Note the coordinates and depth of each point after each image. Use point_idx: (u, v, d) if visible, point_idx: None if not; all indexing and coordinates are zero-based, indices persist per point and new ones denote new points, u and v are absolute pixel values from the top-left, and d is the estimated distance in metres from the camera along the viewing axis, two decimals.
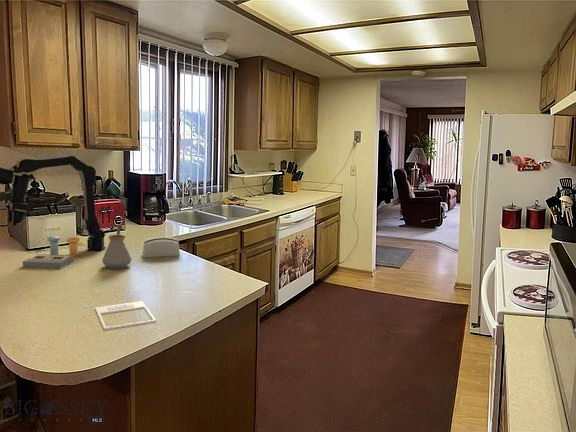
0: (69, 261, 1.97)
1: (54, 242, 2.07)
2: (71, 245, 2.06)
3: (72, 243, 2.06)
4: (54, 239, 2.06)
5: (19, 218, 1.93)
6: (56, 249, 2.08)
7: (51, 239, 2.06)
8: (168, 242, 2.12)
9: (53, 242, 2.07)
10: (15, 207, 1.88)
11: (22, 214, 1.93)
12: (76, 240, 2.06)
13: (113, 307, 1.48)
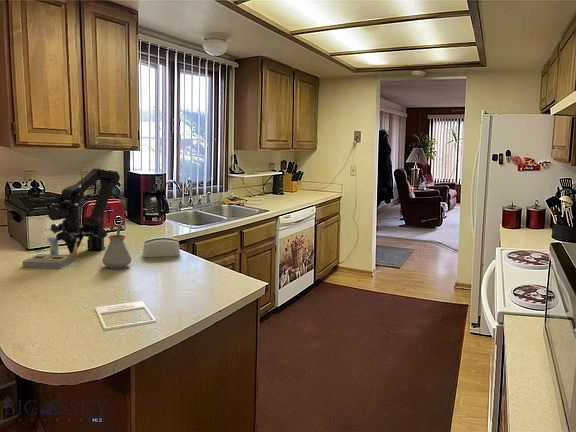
0: (69, 261, 1.97)
1: (54, 242, 2.07)
2: None
3: None
4: (54, 239, 2.06)
5: (72, 245, 2.04)
6: (56, 249, 2.08)
7: (51, 239, 2.06)
8: (168, 242, 2.12)
9: (53, 242, 2.07)
10: (58, 238, 1.98)
11: (72, 242, 2.03)
12: (76, 240, 2.06)
13: (113, 307, 1.48)
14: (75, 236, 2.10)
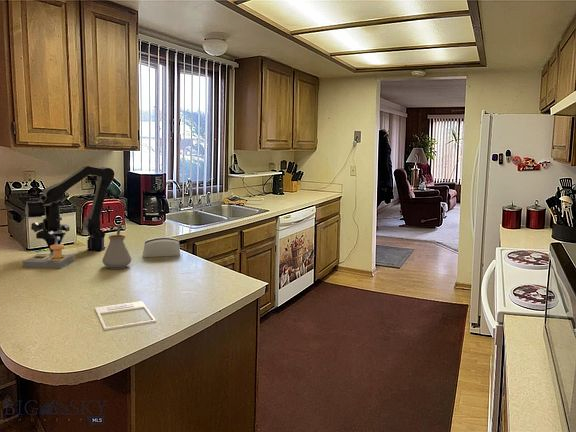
0: (69, 261, 1.97)
1: None
2: (55, 253, 1.92)
3: (56, 251, 1.92)
4: None
5: (52, 244, 2.05)
6: None
7: None
8: (169, 242, 2.12)
9: None
10: (38, 236, 1.98)
11: (53, 240, 2.04)
12: (60, 247, 1.92)
13: (113, 307, 1.48)
14: (56, 235, 2.11)
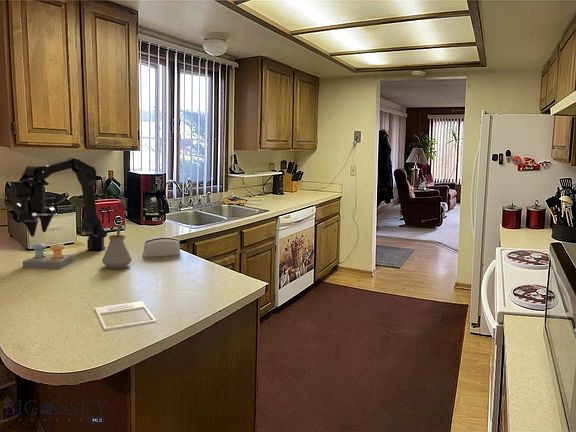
0: (69, 261, 1.97)
1: (39, 250, 1.92)
2: (55, 253, 1.92)
3: (56, 251, 1.92)
4: (39, 247, 1.91)
5: (33, 228, 1.86)
6: (42, 257, 1.94)
7: (36, 247, 1.91)
8: (169, 242, 2.13)
9: (38, 250, 1.92)
10: (20, 218, 1.82)
11: (33, 224, 1.85)
12: (60, 247, 1.92)
13: (113, 307, 1.48)
14: (43, 217, 1.96)
